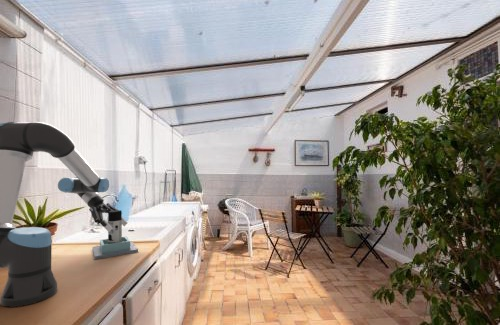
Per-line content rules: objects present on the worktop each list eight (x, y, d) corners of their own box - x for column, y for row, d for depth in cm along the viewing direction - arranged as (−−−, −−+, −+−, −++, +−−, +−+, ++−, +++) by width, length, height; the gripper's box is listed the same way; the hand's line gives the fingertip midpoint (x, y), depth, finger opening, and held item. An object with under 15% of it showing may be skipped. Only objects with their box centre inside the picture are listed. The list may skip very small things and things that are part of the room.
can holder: (94, 259, 129) (94, 248, 130) (92, 249, 146) (92, 239, 146) (138, 251, 141) (138, 241, 141) (131, 243, 157) (131, 234, 157)
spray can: (105, 248, 142) (105, 211, 143) (116, 245, 148) (116, 209, 149) (113, 250, 139) (113, 212, 140) (124, 246, 145) (124, 210, 146)
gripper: (103, 201, 158) (127, 227, 156) (71, 207, 133) (98, 238, 131) (111, 192, 158) (135, 218, 156) (80, 197, 133) (108, 227, 131)
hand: (118, 227), depth 143 cm, fingers open, 13 cm apart
